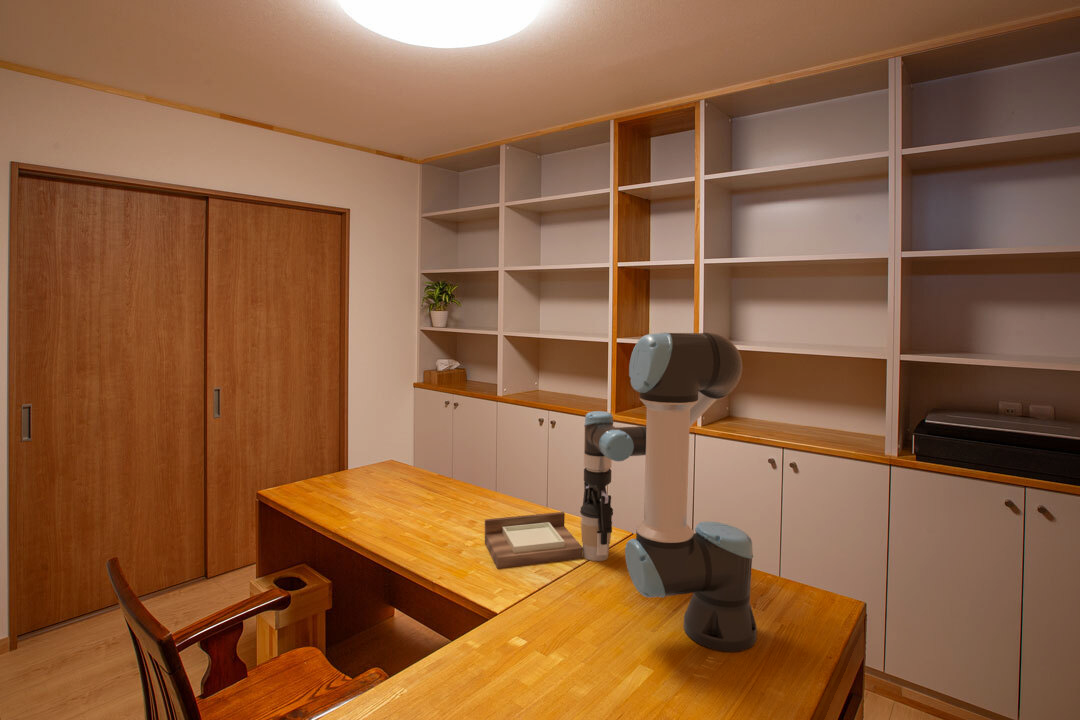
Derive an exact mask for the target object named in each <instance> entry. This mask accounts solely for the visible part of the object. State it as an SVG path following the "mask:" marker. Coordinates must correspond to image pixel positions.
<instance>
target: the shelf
mask: <svg viewBox="0 0 1080 720" xmlns="http://www.w3.org/2000/svg"><path fill="white" fill-rule="evenodd" d="M565 519H566V518H565V512H564V511H560V512H559V511H557V512H547V513H538V514H527V515H517V516H506V517H497V518H496V517H495V518H487V519H484V544H485V546H486V548H487V550H488V552H489V555H490V556H491V558H492V560H493V562H494V564H495V567H496V568H497V569H504V568H505V569H506V568H512V567H520V566H529V565H530V566H531V565H537V564H545V563H554V562H560V561H561V562H562V561H564V562H565V561H568V560H569V561H571V560H578V559H579V560H580V559H583V558H584V556H583V545H582V544H581V543H580V542H579V541H578V540H577V539H576V538H575V537H574V536H573V534H572V533H571V531H569V530H568V529H567V527H566V525H565V522H566V521H565ZM546 522H549V523H550V524H551V525H552V526H553V528H554V529H555V530H556V531H557V533H558V534H559V535H560V536H561V538H562V539H563V540H564V548H556V549H548V550H539V551H530V552H521V553H514V552H513V551H512V549H511V547H510V545H509V544H508V542H507V540H506V538H505V537H504V535H503V533H502V527H506V526H516V525H526V524H536V523H546Z"/></svg>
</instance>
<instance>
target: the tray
mask: <svg viewBox="0 0 1080 720" xmlns="http://www.w3.org/2000/svg"><path fill="white" fill-rule="evenodd" d="M502 533H503V535H504V537H505V538H506V540H507V542H508V544H509V545H510V547H511V549H512V551H513V552H514V553H521V552H530V551H539V550H548V549H556V548H564V540H563V539H562V538H561V536H560V535H559V534H558V533H557V531H556V530H555V529H554V528H553V526H552V525H551V524H550V523H549V522H546V523H536V524H526V525H516V526H506V527H502Z"/></svg>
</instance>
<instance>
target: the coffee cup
mask: <svg viewBox="0 0 1080 720" xmlns="http://www.w3.org/2000/svg"><path fill="white" fill-rule="evenodd" d="M597 504H600V503H597ZM579 511H580V512H579V513H580V514H581V515H580V516H581V517H580V529H581V530H580V531H581V543H582V547H583V558H584V559H586V560H588V561H591V562H602V561H605V560H607V559H608V558H609V550H610V544H611V537H612V536H611V535H612V533H608V548H607V555H601V556H598V555H597V531H599V526H598V519H599V518H598V514H597V509H596V507H594V503H589V502H586V503H585V504H584V505H583V504H582V506H580V510H579ZM613 515H614V510H613V508H612V507H611V522H612V523H613Z"/></svg>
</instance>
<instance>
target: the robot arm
mask: <svg viewBox="0 0 1080 720" xmlns="http://www.w3.org/2000/svg"><path fill="white" fill-rule="evenodd" d="M628 365H629V367H628V376H629V378H630V385H631V387H632V388H633V390H634V391H635V392H638V394H639V400H640V401H641V402H642V403H643V404H644V406H645V407H646V425H640V426H639V425H638V426H619V427H617V426H614V419H613V418H614V415H613V414H612V413H611V412H608V411H602V410H600V411H599V410H596V411H595V410H594V411H589V412H587V413H586V414H585V419H584V446H583V447H584V451H583V467H584V469H583V487H584V488H583V489H584V490H583V501H582V506H583V505H584V504H585V503H586V502H589V503H594V507H596V509H597V514H598V518H599V519H598V526H599V531H597V555H598V556H601V555H607V548H608V533H611V534H612V533H613V521H612V522H611V508H612V504H611V503H612V496H611V495H610V494H607V488H606V487H607V485H610V484H611V483H612V469H611V468H612V462H613V461H614V462H624V461H625V460H627V459H629V458H630V457H640V456H645V467H644V469H645V471H644V472H645V474H644V503H643V504H644V508H643V509H644V510H643V511H644V513H643V515H644V516H643V520H642V521H641V522H639V524H638V525H637V526H636V529H635V530H636V534H635V538H632V539H629V540H627V542H626V544H625V547H624V548H625V549H624V556H625V563H626V568H627V570H628V571H627V572H628V575H629V577H630V579H631V582H632V584H633V586H634V588H635V589H636V591H637V592H638V593H639V594H640V595H641V596H643V597H645V598H665V597H671V596H678V595H679V596H680V595H687V594H692V596H691V598H690V600H689V603H688V605H687V607H686V610H685V612H684V615H683V630H684V632H685V634H686V635H687V636H688V637H689V638H690V639H691V640H692V641H694V642H696V644H699V645H701V646H703V647H706V648H708V649H711V650H714V651H721V652H732V653H733V652H742V651H745V650H748V649H750V648H752V647H753V646H754V645H755V644H756V642H757V638H758V637H757V636H758V635H757V633H758V631H757V630H758V628H757V624H756V619H755V616H754V612H753V610H752V605H751V602H750V601H751V599H750V598H751V585H752V569H753V568H752V567H753V566H752V564H753V563H752V562H753V559H754V554H753V553H754V552H753V540H752V539H751V537H750V535H749V534H748V533H746V532H745V531H744V530H742V529H741V528H738V527H736V526H734V525H729V524H728V523H727V524H726V523H723V522H717V521H701V522H699V523H697V524H696V527H695V528H694V530H693V528H691V527H690V526H689V525H688V523H687V522H688V521H687V518H688V517H687V516H688V489H689V488H688V485H689V484H688V483H689V482H688V481H689V459H690V458H689V457H690V456H689V454H690V428H691V427H692V426H693V425H694V424H695V423H696V422H697V421H698V420H699V418H701V417H702V415H704V413H705V412H706V411H707V410H708V409H709V408H710V407H711V406H712V405H713V404H714V403H715V402H716V401H717V400H722V399H724V398H726V397H727V396H729V394H730V393H731V392H733V390H734V389H735V388H736V387H737V385H738V383H739V382H740V379H741V378H742V373H743V360H742V356H741V353H740V351H739V350H738V348H737V347H736V345H735V344H734V342H732V341H731V340H730V339H728V338H727V337H725V336H724V335H721V334H718V333H715V332H700V333H699V332H657V333H649V334H645V335H643V336H642V337H640V339H638V340H637V342H636V343H635V346H634V347H633V350H632V351H631V355H630V360H629V364H628ZM597 503H600V504H597Z"/></svg>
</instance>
